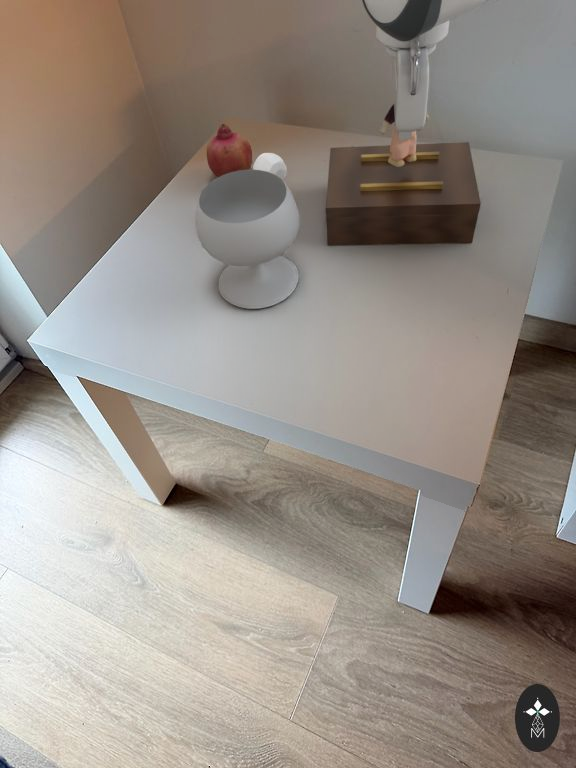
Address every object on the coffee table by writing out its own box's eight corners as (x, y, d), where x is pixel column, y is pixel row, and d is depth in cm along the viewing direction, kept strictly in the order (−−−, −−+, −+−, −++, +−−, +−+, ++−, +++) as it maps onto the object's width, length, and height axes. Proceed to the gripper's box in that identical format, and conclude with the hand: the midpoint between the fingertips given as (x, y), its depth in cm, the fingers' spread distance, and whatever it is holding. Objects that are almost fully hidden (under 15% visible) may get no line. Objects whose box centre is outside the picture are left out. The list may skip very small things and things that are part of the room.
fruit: (203, 186, 97) (189, 133, 89) (227, 162, 101) (216, 109, 93) (240, 195, 95) (230, 142, 87) (263, 171, 98) (255, 117, 90)
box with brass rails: (461, 181, 91) (469, 137, 85) (472, 243, 82) (482, 198, 75) (331, 185, 94) (330, 142, 88) (327, 245, 85) (325, 203, 78)
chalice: (194, 292, 81) (166, 207, 69) (252, 240, 87) (236, 153, 75) (266, 329, 75) (249, 244, 63) (323, 270, 81) (318, 182, 69)
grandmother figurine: (409, 145, 83) (418, 56, 72) (427, 155, 81) (439, 65, 70) (371, 165, 80) (376, 76, 70) (389, 176, 78) (397, 85, 68)
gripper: (446, 54, 59) (431, 169, 70) (433, -16, 71) (422, 92, 82) (387, 58, 60) (382, 171, 71) (385, -12, 72) (380, 94, 83)
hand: (404, 128), depth 76 cm, fingers closed on grandmother figurine, 3 cm apart
